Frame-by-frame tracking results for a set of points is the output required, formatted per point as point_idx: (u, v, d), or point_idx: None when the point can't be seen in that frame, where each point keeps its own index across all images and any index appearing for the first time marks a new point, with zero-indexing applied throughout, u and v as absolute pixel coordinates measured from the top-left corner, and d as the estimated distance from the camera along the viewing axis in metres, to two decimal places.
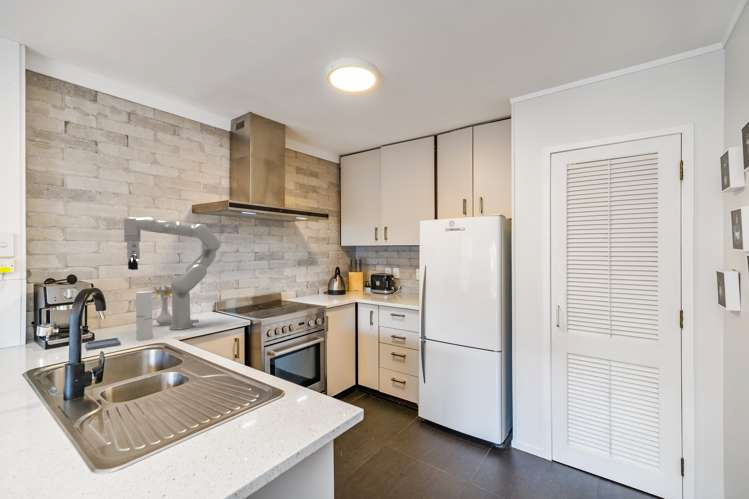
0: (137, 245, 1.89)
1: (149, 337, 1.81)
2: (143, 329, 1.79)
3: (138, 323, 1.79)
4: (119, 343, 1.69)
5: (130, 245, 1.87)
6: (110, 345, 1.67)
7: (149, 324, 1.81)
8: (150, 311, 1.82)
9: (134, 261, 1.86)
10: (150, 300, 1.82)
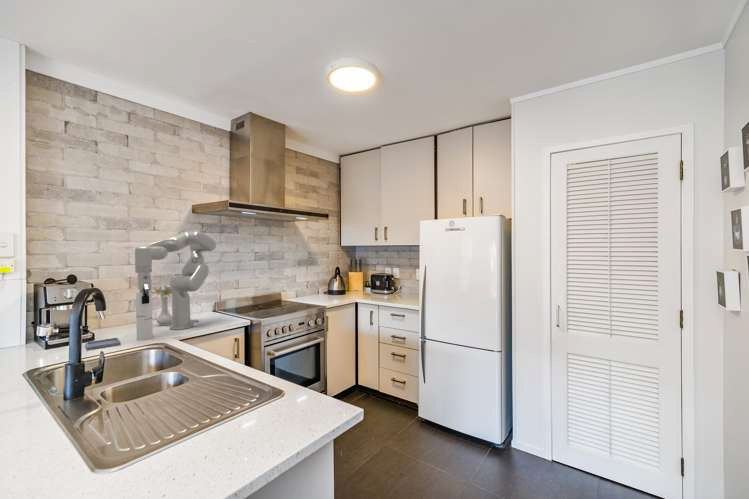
0: (149, 276, 1.80)
1: (149, 337, 1.81)
2: (143, 329, 1.79)
3: (138, 323, 1.79)
4: (119, 343, 1.69)
5: (141, 277, 1.78)
6: (110, 345, 1.67)
7: (149, 324, 1.81)
8: (150, 311, 1.82)
9: (145, 295, 1.78)
10: (150, 300, 1.82)
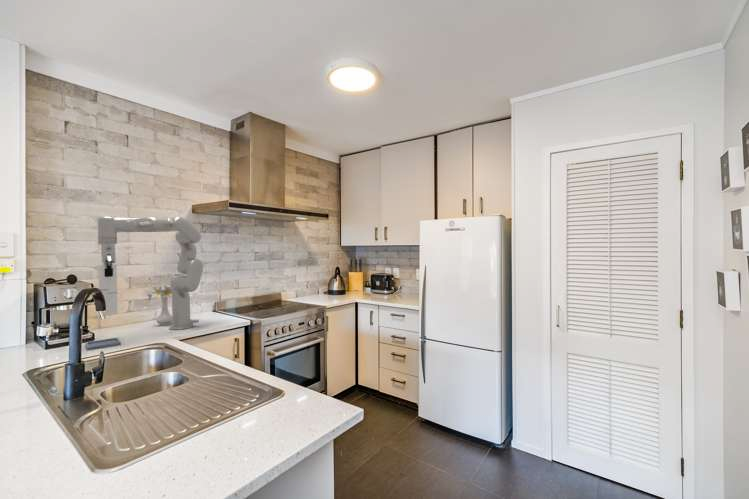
0: (112, 248, 1.70)
1: (113, 312, 1.70)
2: None
3: None
4: (119, 343, 1.69)
5: (104, 248, 1.68)
6: (110, 345, 1.67)
7: (112, 298, 1.70)
8: (114, 285, 1.71)
9: (108, 267, 1.68)
10: (114, 273, 1.72)
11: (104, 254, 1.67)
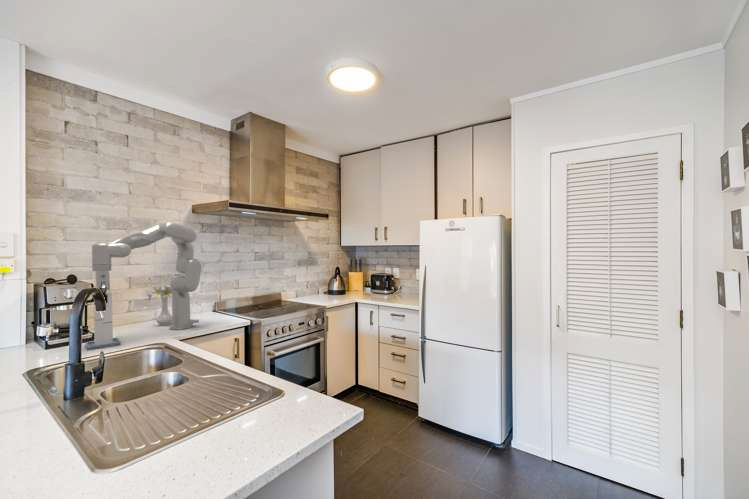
0: (107, 275, 1.68)
1: (108, 342, 1.69)
2: (101, 333, 1.67)
3: (96, 327, 1.67)
4: (119, 343, 1.69)
5: (98, 275, 1.66)
6: (110, 345, 1.67)
7: (108, 328, 1.69)
8: (109, 314, 1.70)
9: (103, 294, 1.66)
10: (109, 303, 1.70)
11: (98, 282, 1.66)
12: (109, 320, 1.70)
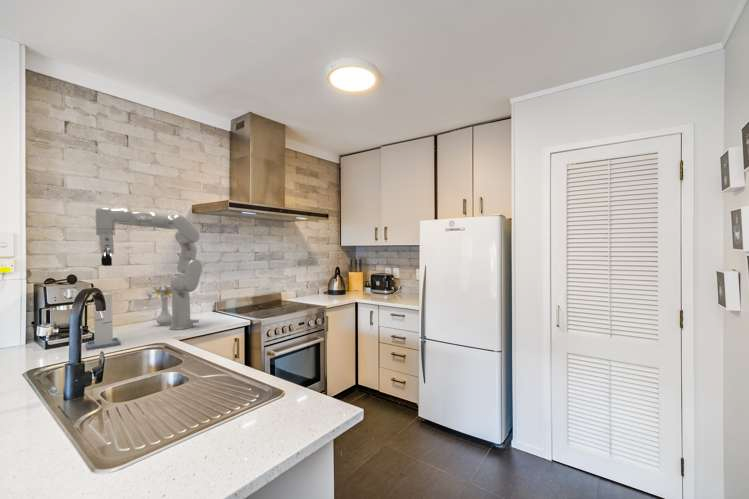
0: (111, 239, 1.72)
1: (108, 342, 1.69)
2: (101, 333, 1.67)
3: (96, 327, 1.67)
4: (119, 343, 1.69)
5: (103, 239, 1.70)
6: (110, 345, 1.67)
7: (108, 328, 1.69)
8: (109, 314, 1.70)
9: (107, 256, 1.70)
10: (109, 303, 1.70)
11: (102, 245, 1.70)
12: (109, 320, 1.70)
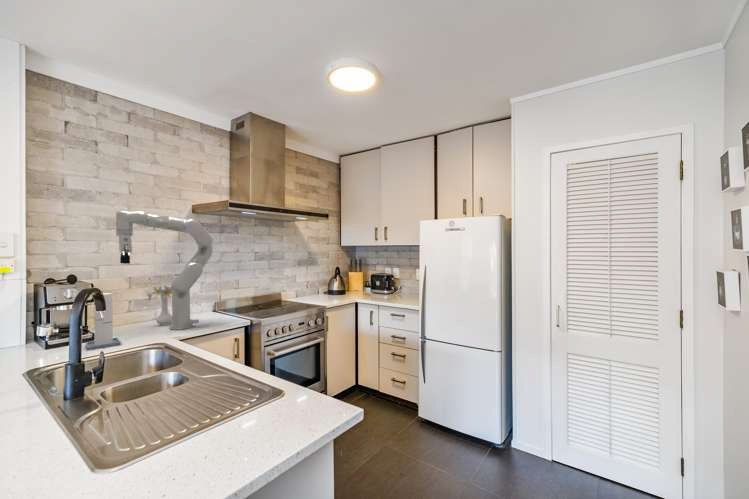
0: (129, 239, 1.90)
1: (108, 342, 1.69)
2: (101, 333, 1.67)
3: (96, 327, 1.67)
4: (119, 343, 1.69)
5: (122, 239, 1.88)
6: (110, 345, 1.67)
7: (108, 328, 1.69)
8: (109, 314, 1.70)
9: (126, 255, 1.87)
10: (109, 303, 1.70)
11: (122, 244, 1.87)
12: (109, 320, 1.70)
